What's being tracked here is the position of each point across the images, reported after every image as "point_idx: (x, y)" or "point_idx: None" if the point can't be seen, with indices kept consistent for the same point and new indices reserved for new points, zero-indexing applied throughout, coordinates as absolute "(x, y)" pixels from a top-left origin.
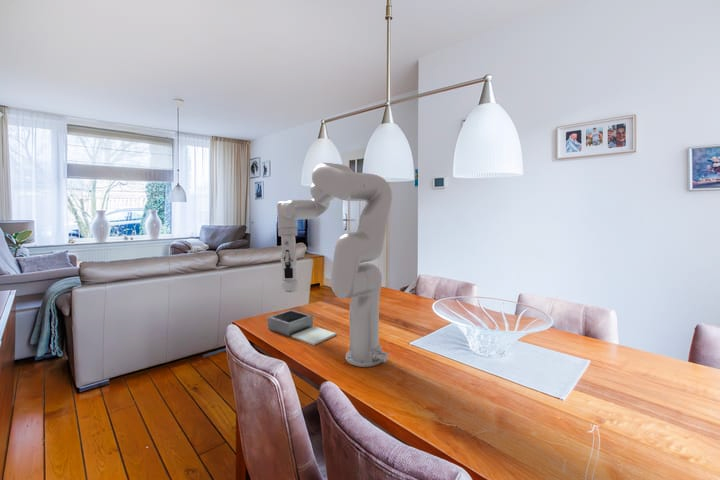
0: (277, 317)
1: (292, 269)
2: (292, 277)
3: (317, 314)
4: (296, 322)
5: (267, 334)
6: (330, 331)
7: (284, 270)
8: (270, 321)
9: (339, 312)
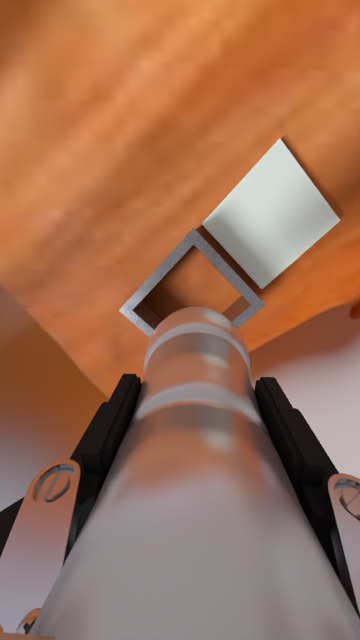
0: None
1: (316, 447)
2: (273, 380)
3: (69, 219)
4: (244, 282)
5: None
6: (259, 161)
7: None
8: None
9: (39, 123)
